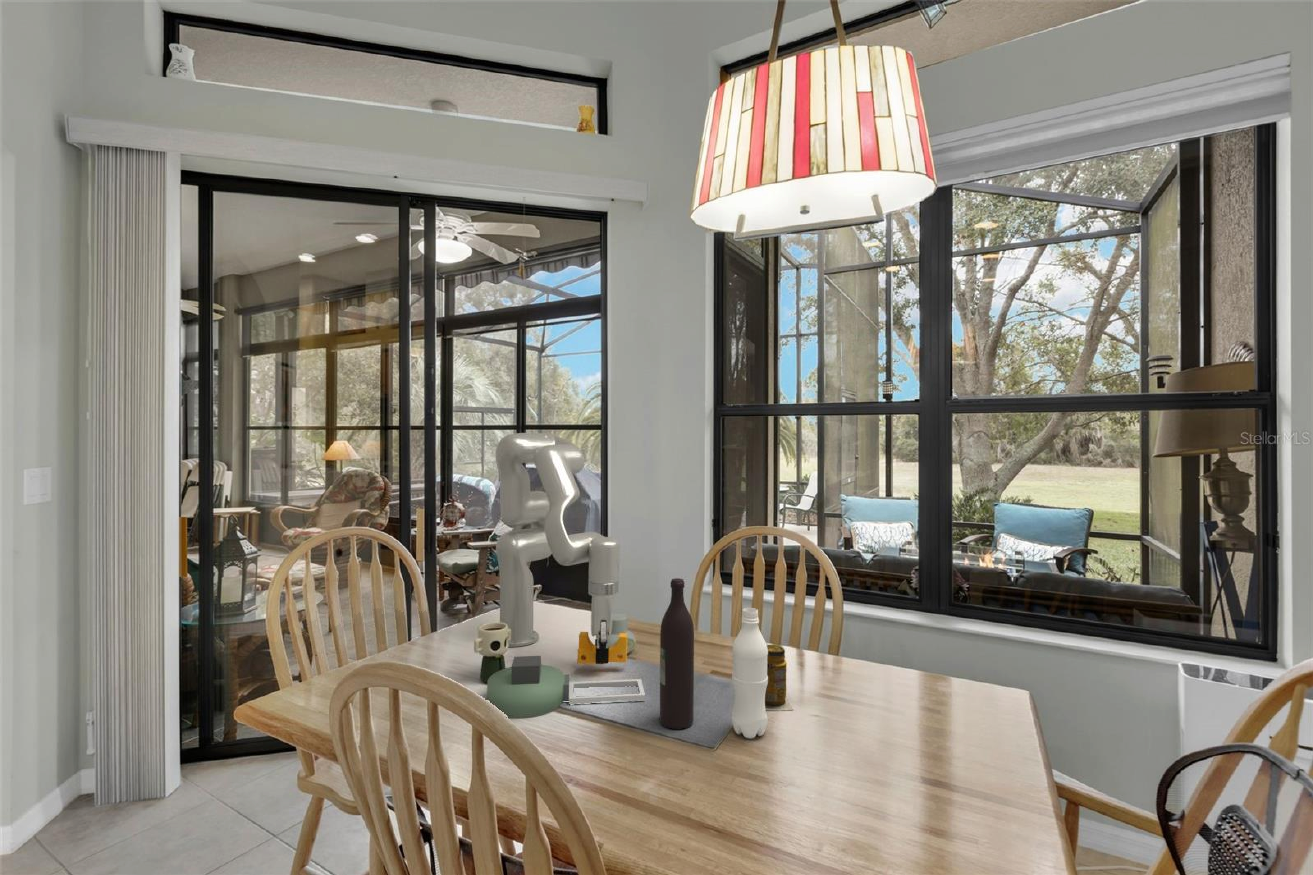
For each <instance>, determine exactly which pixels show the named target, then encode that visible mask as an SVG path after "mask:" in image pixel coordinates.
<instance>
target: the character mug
mask: <svg viewBox="0 0 1313 875" xmlns="http://www.w3.org/2000/svg"><path fill="white" fill-rule="evenodd" d="M509 641H511V629H508V625H507V624H505V623H501V622H500V621H499V622H496V621H493V622H486V623H482V624H480V625H479V626H478V627H477V638H475V639H474V640H473V651H474V653H475V654H479V655H481V656H482V659H481V665H480V671H479V672H480V673H479V679H481V681H484V682H486V683H487V682H488V679H489V678H490V676H492V675H493V674H494V673H496V672H498V671H500V670H502V669H505V668H506V662H505V656H504V655H505V654H506V653H507V651H508V649H509V647H508V645H509V644H508V642H509Z"/></svg>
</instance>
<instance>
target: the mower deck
mask: <svg viewBox="0 0 1313 875" xmlns="http://www.w3.org/2000/svg"><path fill="white" fill-rule="evenodd" d="M541 662H542V656H541V655H526V656H525V655H524V656H523V655H521V656H514V657H513V661H512V663H511V666H510V667H505V669H502V670H500V671H498V672H496V673H494V674H493V675H492V676H490V678H489V679H488V682H486V684H487V695H486V696H487V698H486V699H487V700H489V701H490V703H492V704H493V705H495V706H496V707H497V708H498V709H499V710H501V711H502V712H504V714H506V715H507V716H508V718H509V719H529V718H536V717H540V716H543V715H547V714H550V713H552V712H554V711H556V710H558V709H559V708H560V707H561V706H562V705H563V704H562V702H563V701H569V703H568V705H569V704H577V703H592V702H601V701H617V700H645V701H646V693H645V689H644V686H643V682H642V679H641V678H639V679H638V678H633V679H613V680H611V679H610V680H591V681H590V680H589V681H570V674H569V673H568V674H565V673H564V672H563V671H562V670H561V669H559V668H557V667H554V666H552V665H551V666H550V665H545V664H542V663H541ZM625 686H627V687H629V686H631V687H633V686H636V687H638V691H639V693H638V694H617V695H597V696H576V697H573V693H574V688H589V687H625ZM487 700H486V701H487ZM561 704H562V705H561ZM560 705H561V706H560ZM559 706H560V707H559Z"/></svg>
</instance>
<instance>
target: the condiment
mask: <svg viewBox="0 0 1313 875" xmlns="http://www.w3.org/2000/svg"><path fill="white" fill-rule="evenodd" d="M766 645H767V648H768V655H767V676H768V684H767V687H766V692H765V710H766V711H778V712H782V711H793V710H794V709H793V707H792V705H791V703H790V701H789V700H788V698H787V661H786V656H785V654H786V652H785V649H784V648H783V647H782V646H780V645H776V644H766Z"/></svg>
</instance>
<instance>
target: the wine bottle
mask: <svg viewBox="0 0 1313 875" xmlns="http://www.w3.org/2000/svg"><path fill="white" fill-rule="evenodd" d="M670 588H671V598H670V603H669V605H668V607H667V609H666V610H665V613H664V615H663V617H662V620H661V623H660V624H661V625H660V632H659V635H660V636H659V637H660V639H659V645H660V646H659V721H660V725H662V726H663V727H664V728H667V729H670V728H671V729H672V730H683V729H682V728H684V729H688V728H690V727H691V726H693V723H694V706H695V705H694V704H695V702H694V700H695V698H694V696H695V695H694V693H695V692H694V691H695V688H694V686H695V683H694V682H695V681H694V680H695V676H694V674H695V673H694V672H695V666H694V665H695V628H694V627H695V625H694V622H693V618H692V616H691V614H690V612H689V610H688V608H687V606H686V603H685V598H684V588H685V581H684V579H683V578H680V577H679V578H672V579H671V581H670Z"/></svg>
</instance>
